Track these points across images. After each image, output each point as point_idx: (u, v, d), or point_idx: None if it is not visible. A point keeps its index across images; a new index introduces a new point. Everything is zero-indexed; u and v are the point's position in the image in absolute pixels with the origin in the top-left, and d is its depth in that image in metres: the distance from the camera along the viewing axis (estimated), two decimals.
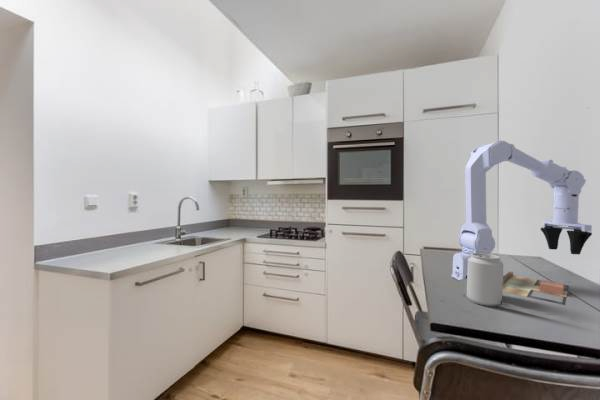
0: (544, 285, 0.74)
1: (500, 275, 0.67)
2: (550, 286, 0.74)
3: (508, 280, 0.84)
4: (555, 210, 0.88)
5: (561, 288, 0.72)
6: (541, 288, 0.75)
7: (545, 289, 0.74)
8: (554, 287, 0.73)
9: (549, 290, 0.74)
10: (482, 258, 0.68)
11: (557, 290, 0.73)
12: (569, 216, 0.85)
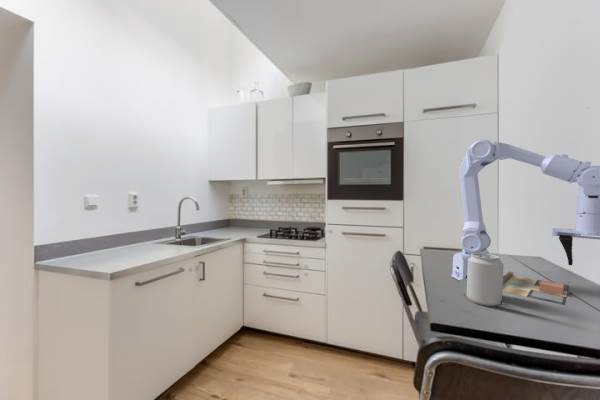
0: (544, 285, 0.74)
1: (500, 275, 0.67)
2: (550, 286, 0.74)
3: (508, 280, 0.84)
4: None
5: (561, 288, 0.72)
6: (541, 288, 0.75)
7: (545, 289, 0.74)
8: (554, 287, 0.73)
9: (549, 290, 0.74)
10: (483, 258, 0.68)
11: (557, 290, 0.73)
12: None
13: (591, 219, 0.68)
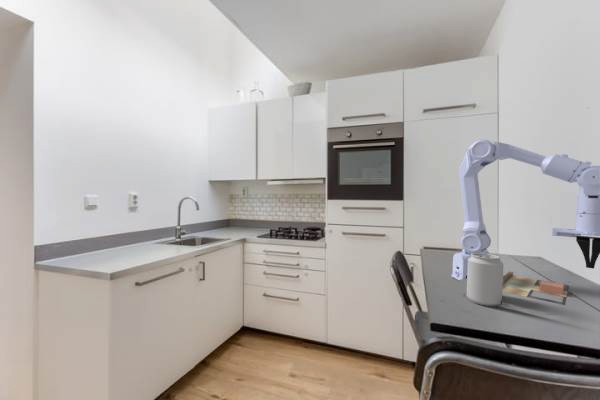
0: (544, 285, 0.74)
1: (500, 275, 0.67)
2: (550, 286, 0.74)
3: (508, 280, 0.84)
4: None
5: (561, 288, 0.72)
6: (541, 288, 0.75)
7: (545, 289, 0.74)
8: (554, 287, 0.73)
9: (549, 290, 0.74)
10: (483, 258, 0.68)
11: (557, 290, 0.73)
12: None
13: (591, 219, 0.68)
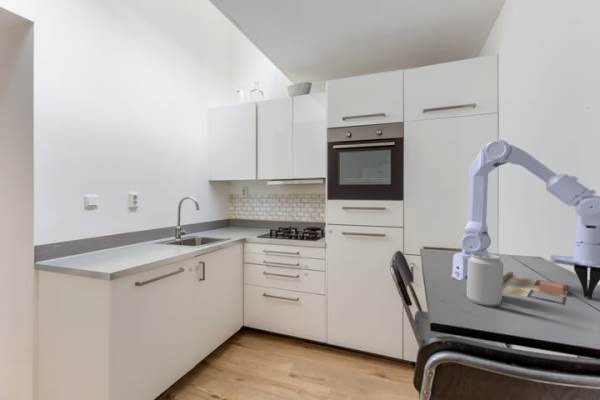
0: (544, 285, 0.74)
1: (500, 275, 0.67)
2: (550, 286, 0.74)
3: (508, 280, 0.84)
4: None
5: (561, 288, 0.72)
6: (541, 288, 0.75)
7: (545, 289, 0.74)
8: (554, 287, 0.73)
9: (549, 290, 0.74)
10: (483, 258, 0.68)
11: (557, 290, 0.73)
12: None
13: (589, 249, 0.68)
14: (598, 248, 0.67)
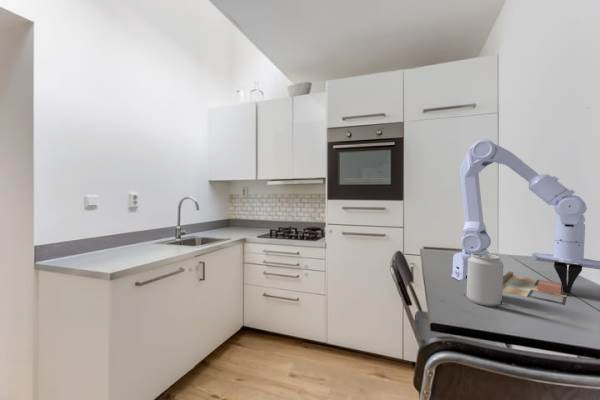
0: (542, 285, 0.75)
1: (500, 275, 0.67)
2: (548, 286, 0.74)
3: (508, 280, 0.84)
4: None
5: (559, 288, 0.72)
6: (539, 288, 0.75)
7: (543, 289, 0.75)
8: (552, 287, 0.73)
9: (547, 290, 0.74)
10: (483, 258, 0.68)
11: (555, 290, 0.73)
12: None
13: (567, 247, 0.71)
14: (576, 246, 0.70)
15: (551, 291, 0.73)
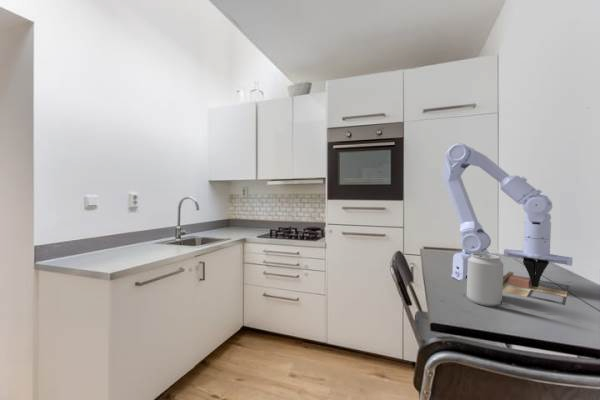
0: (512, 279, 0.79)
1: (500, 275, 0.67)
2: (518, 280, 0.79)
3: (508, 280, 0.84)
4: None
5: (527, 282, 0.77)
6: (510, 282, 0.80)
7: (513, 283, 0.79)
8: (521, 281, 0.78)
9: (517, 284, 0.79)
10: (483, 258, 0.68)
11: (524, 284, 0.78)
12: None
13: (534, 243, 0.76)
14: (542, 242, 0.75)
15: (520, 285, 0.78)
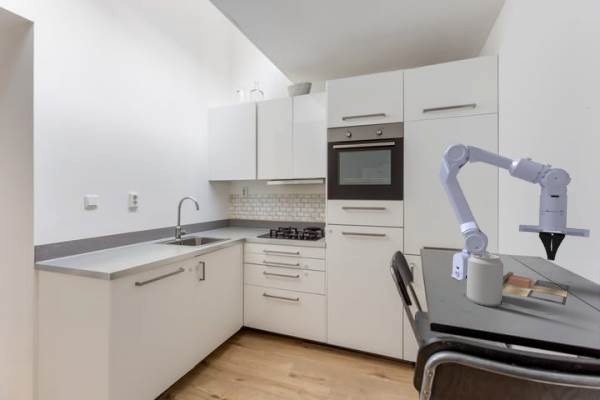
0: (512, 279, 0.79)
1: (500, 275, 0.67)
2: (518, 280, 0.79)
3: (508, 280, 0.84)
4: None
5: (527, 282, 0.77)
6: (510, 282, 0.80)
7: (513, 283, 0.79)
8: (521, 281, 0.78)
9: (517, 284, 0.79)
10: (482, 258, 0.68)
11: (524, 284, 0.78)
12: None
13: (550, 216, 0.76)
14: (558, 215, 0.75)
15: (520, 285, 0.78)
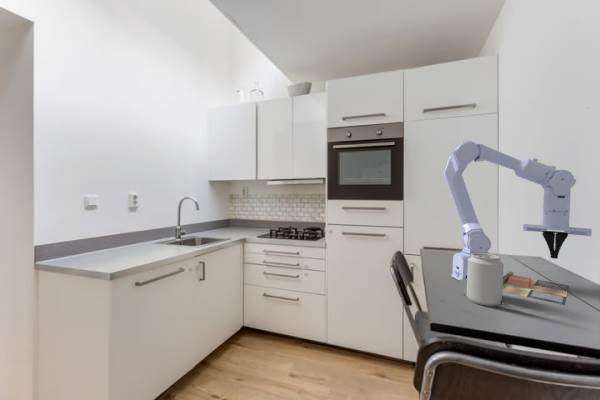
0: (512, 279, 0.79)
1: (500, 275, 0.67)
2: (518, 280, 0.79)
3: (508, 280, 0.84)
4: None
5: (527, 282, 0.77)
6: (510, 282, 0.80)
7: (513, 283, 0.79)
8: (521, 281, 0.78)
9: (517, 284, 0.79)
10: (483, 258, 0.68)
11: (524, 284, 0.78)
12: None
13: (554, 216, 0.79)
14: (562, 215, 0.78)
15: (520, 285, 0.78)
